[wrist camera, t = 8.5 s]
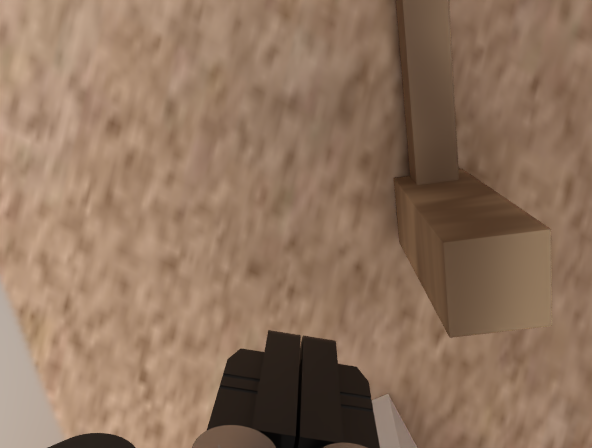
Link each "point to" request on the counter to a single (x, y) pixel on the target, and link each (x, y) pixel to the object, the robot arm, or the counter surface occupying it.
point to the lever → (460, 202)
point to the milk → (390, 425)
